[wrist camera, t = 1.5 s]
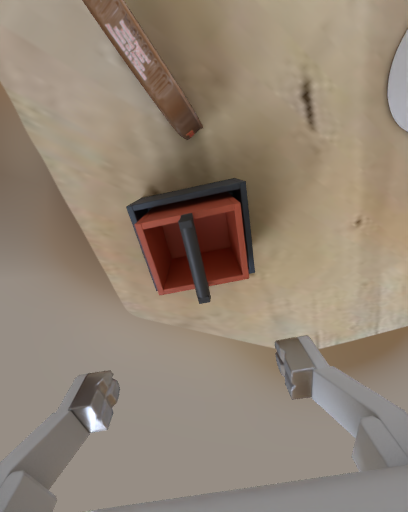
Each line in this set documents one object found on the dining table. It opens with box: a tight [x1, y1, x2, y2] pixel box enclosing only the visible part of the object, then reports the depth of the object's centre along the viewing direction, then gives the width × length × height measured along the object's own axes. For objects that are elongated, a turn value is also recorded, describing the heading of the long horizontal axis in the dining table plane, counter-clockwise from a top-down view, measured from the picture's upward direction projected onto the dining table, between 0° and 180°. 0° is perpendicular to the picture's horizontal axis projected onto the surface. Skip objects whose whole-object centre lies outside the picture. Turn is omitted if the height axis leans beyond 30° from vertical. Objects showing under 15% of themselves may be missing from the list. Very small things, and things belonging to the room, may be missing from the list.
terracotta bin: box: [135, 192, 249, 304], centre depth 25 cm, size 11×9×12 cm
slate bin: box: [126, 178, 255, 291], centre depth 28 cm, size 14×12×7 cm
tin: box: [82, 0, 203, 140], centre depth 20 cm, size 15×3×8 cm, turn 38°
